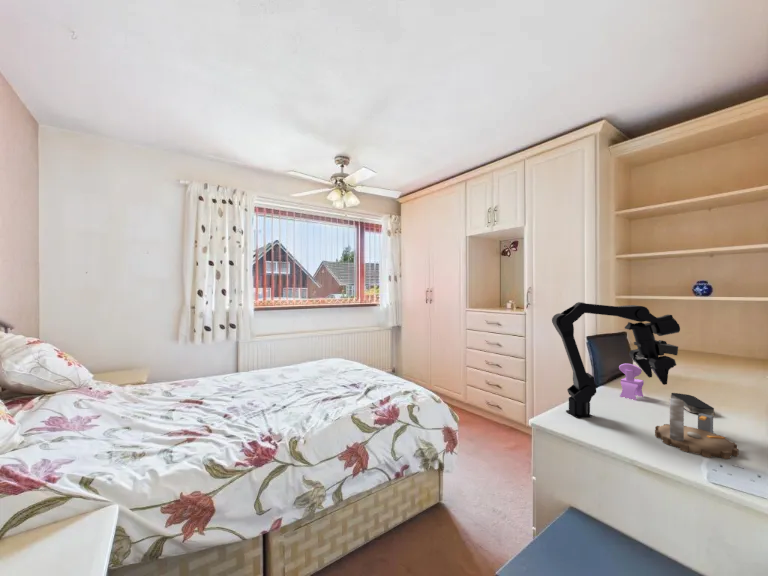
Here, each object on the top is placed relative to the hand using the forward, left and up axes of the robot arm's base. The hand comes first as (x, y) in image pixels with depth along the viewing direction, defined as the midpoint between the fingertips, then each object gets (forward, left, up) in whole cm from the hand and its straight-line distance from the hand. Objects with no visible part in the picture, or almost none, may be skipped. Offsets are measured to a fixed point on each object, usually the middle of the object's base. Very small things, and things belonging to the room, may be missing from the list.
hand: (657, 380), depth 117 cm
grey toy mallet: (+5, -11, -15) cm, 19 cm away
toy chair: (+14, +25, -15) cm, 32 cm away
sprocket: (-4, -16, -15) cm, 22 cm away
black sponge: (+26, +10, -15) cm, 32 cm away
